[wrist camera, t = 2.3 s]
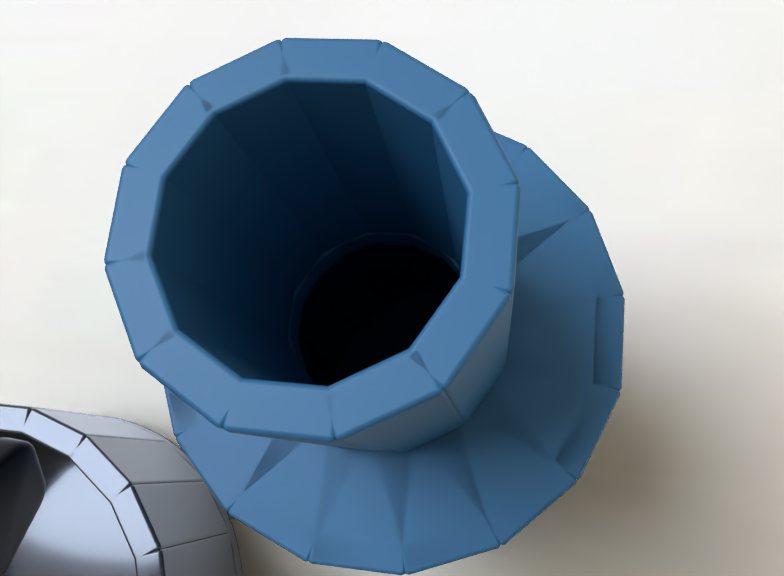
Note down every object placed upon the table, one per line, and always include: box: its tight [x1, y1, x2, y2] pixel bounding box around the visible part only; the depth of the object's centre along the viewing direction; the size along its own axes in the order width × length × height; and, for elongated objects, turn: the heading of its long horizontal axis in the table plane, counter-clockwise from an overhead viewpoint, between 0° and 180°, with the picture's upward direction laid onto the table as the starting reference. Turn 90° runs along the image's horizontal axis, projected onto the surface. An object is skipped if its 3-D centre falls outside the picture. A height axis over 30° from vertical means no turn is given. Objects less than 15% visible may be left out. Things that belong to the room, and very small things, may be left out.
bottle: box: [104, 38, 625, 575], centre depth 12 cm, size 6×6×14 cm
